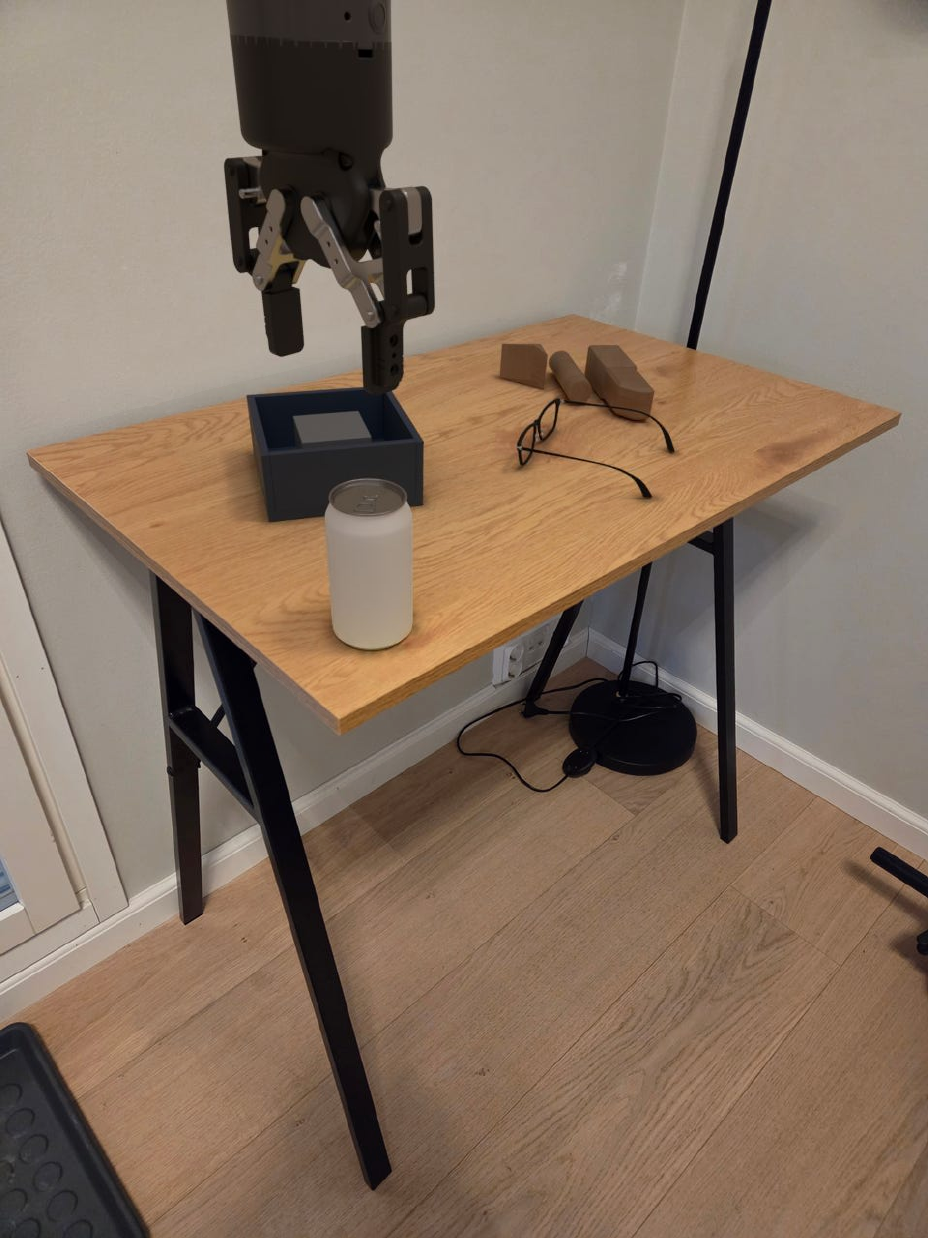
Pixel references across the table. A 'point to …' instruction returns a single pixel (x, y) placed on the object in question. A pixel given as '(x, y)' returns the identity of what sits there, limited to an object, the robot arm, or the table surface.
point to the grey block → (330, 430)
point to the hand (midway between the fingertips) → (332, 371)
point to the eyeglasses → (537, 424)
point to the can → (370, 563)
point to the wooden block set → (603, 371)
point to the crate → (330, 449)
